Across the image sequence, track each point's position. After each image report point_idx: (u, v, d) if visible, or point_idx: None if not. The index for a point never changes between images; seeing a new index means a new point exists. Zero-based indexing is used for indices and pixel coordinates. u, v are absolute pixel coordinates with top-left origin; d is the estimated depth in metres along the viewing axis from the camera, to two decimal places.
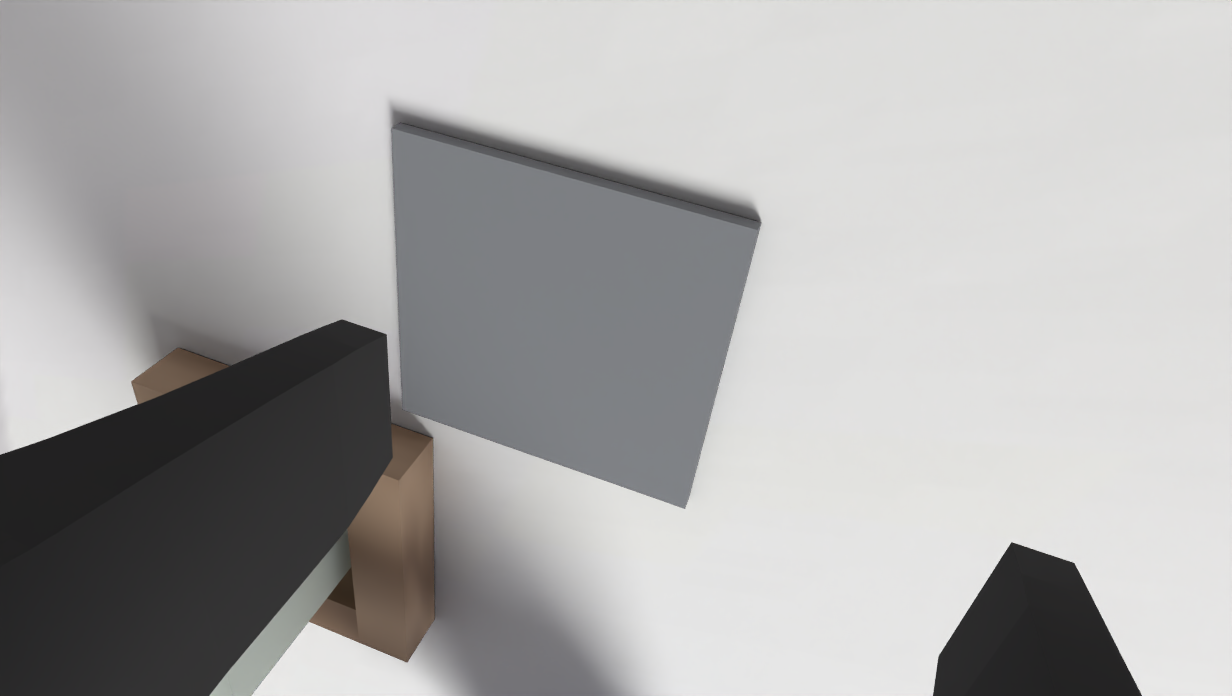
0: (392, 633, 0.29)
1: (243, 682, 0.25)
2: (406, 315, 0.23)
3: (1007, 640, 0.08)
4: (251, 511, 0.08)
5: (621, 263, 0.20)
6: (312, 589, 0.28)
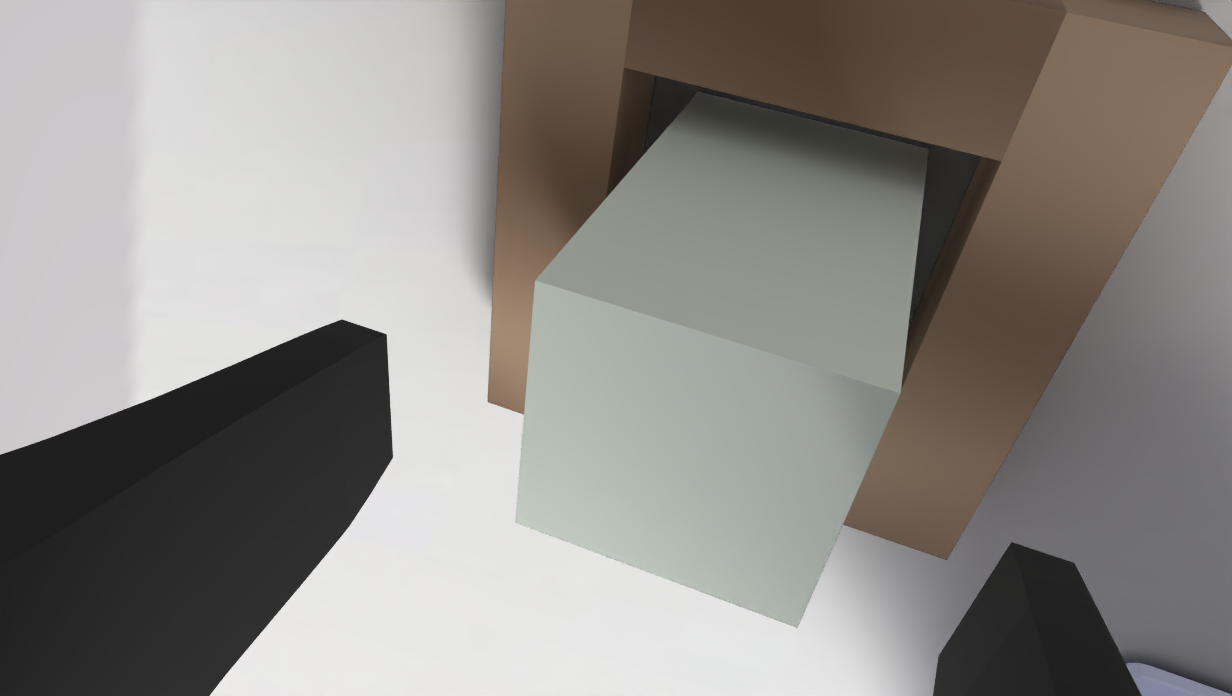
0: (945, 497, 0.15)
1: None
2: None
3: (1007, 640, 0.08)
4: (252, 511, 0.08)
5: None
6: None
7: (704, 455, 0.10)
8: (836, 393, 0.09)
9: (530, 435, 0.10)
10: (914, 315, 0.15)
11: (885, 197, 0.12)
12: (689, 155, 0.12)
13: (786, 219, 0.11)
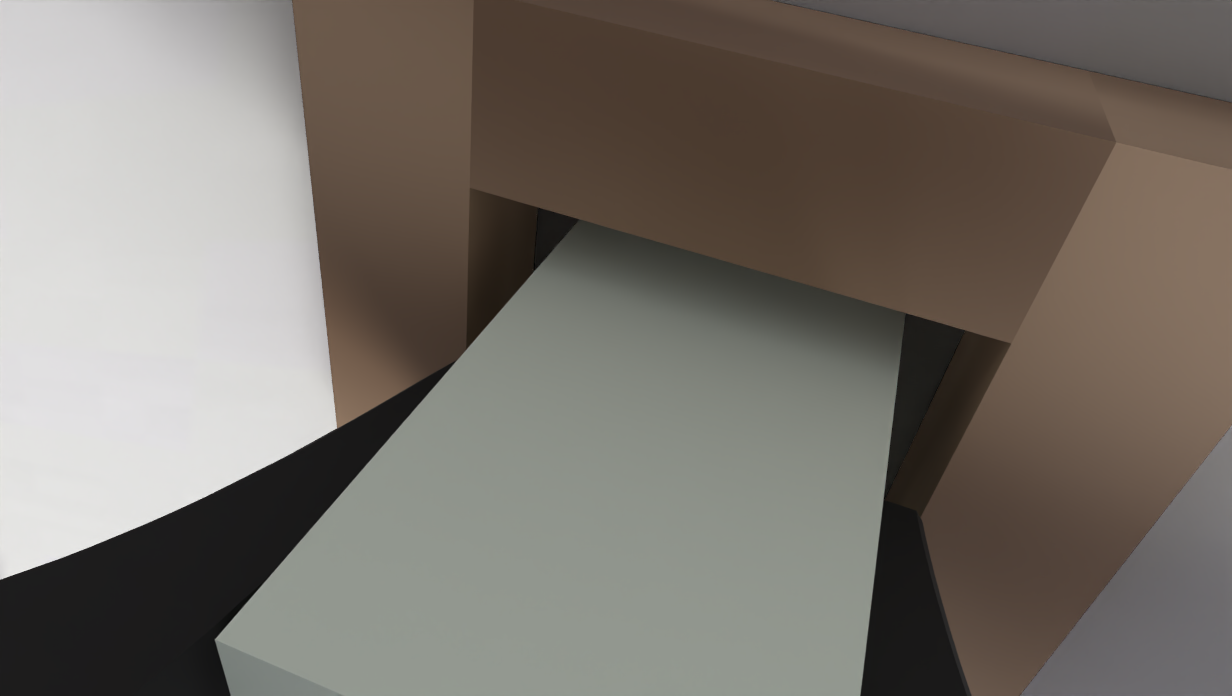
0: None
1: None
2: None
3: None
4: None
5: None
6: None
7: None
8: None
9: None
10: (892, 487, 0.12)
11: (841, 387, 0.08)
12: (557, 322, 0.08)
13: (683, 449, 0.07)
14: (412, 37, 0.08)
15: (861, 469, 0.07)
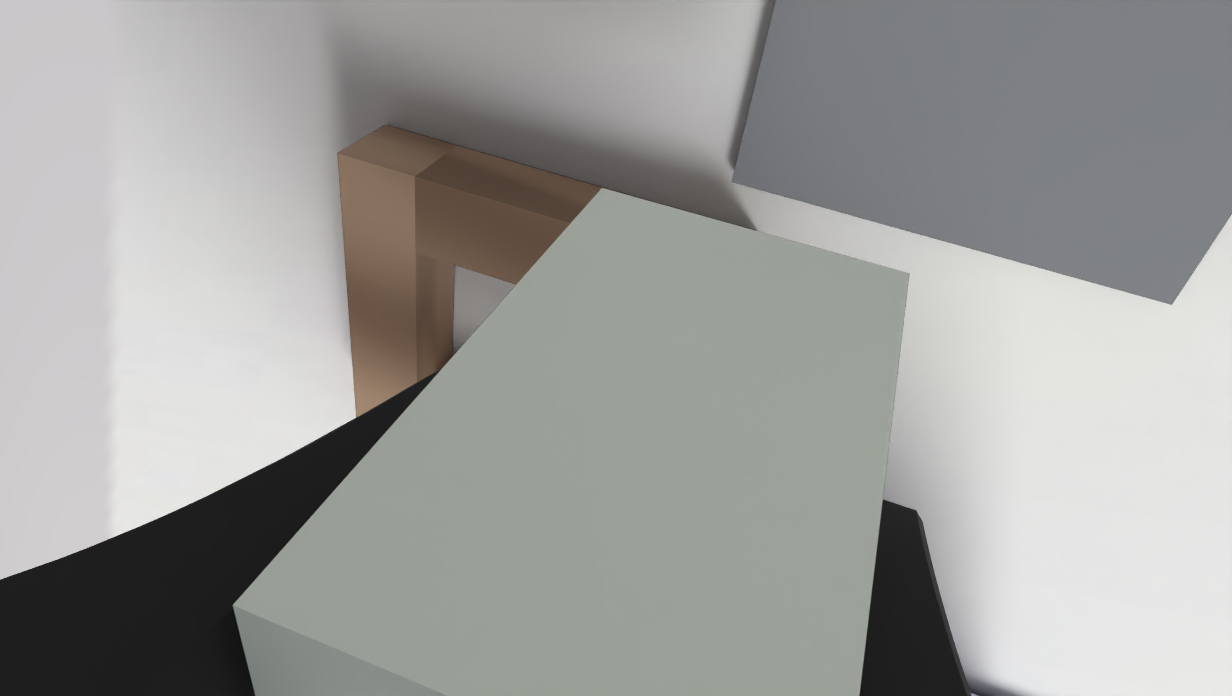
0: None
1: None
2: (786, 12, 0.16)
3: None
4: None
5: None
6: None
7: None
8: None
9: None
10: None
11: (844, 369, 0.08)
12: (563, 306, 0.09)
13: (688, 428, 0.07)
14: (389, 191, 0.19)
15: (863, 447, 0.07)
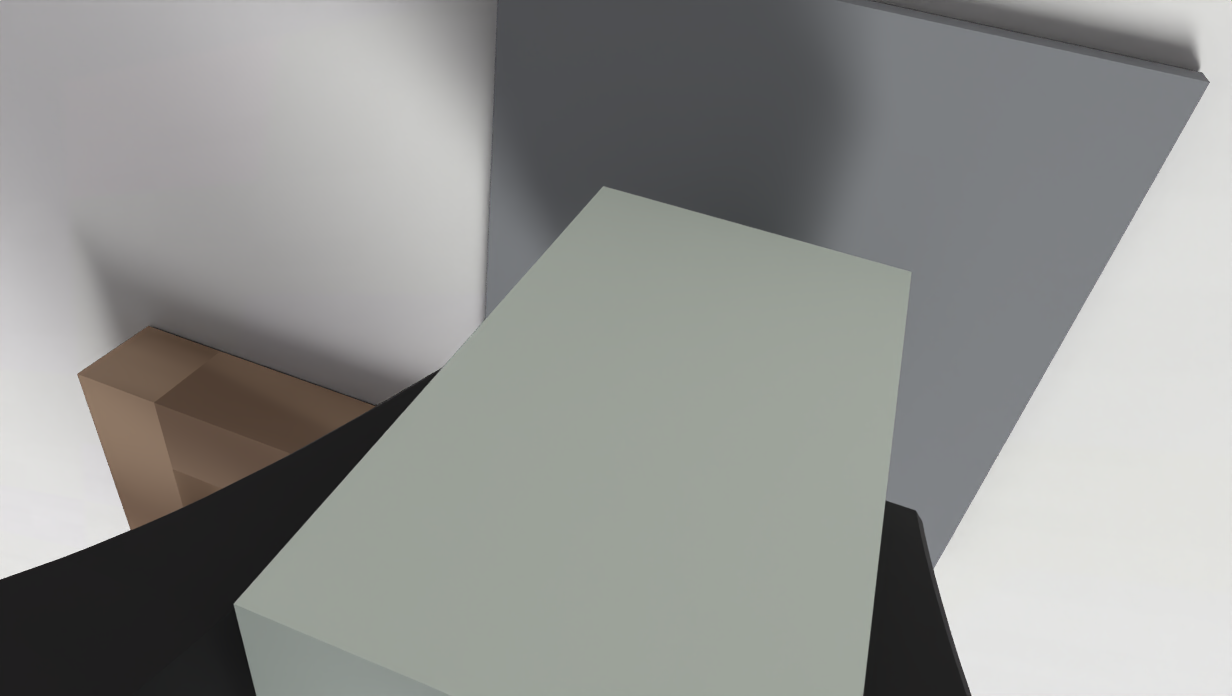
0: None
1: None
2: (500, 267, 0.14)
3: None
4: None
5: (904, 161, 0.11)
6: None
7: None
8: None
9: None
10: None
11: (847, 368, 0.08)
12: (565, 304, 0.09)
13: (692, 426, 0.07)
14: (134, 413, 0.18)
15: (866, 446, 0.07)
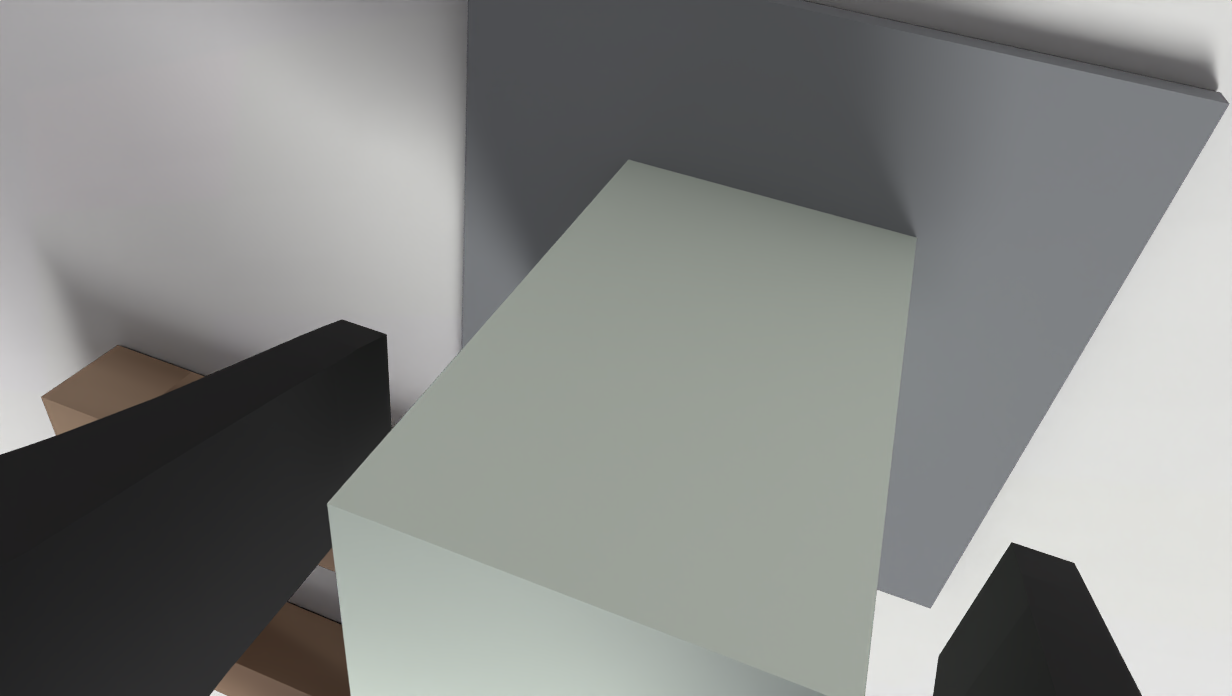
0: None
1: None
2: (476, 290, 0.14)
3: (1007, 640, 0.08)
4: (251, 511, 0.08)
5: (899, 184, 0.10)
6: None
7: None
8: None
9: (357, 679, 0.07)
10: None
11: (857, 319, 0.09)
12: (599, 261, 0.09)
13: (718, 366, 0.08)
14: None
15: (877, 385, 0.08)
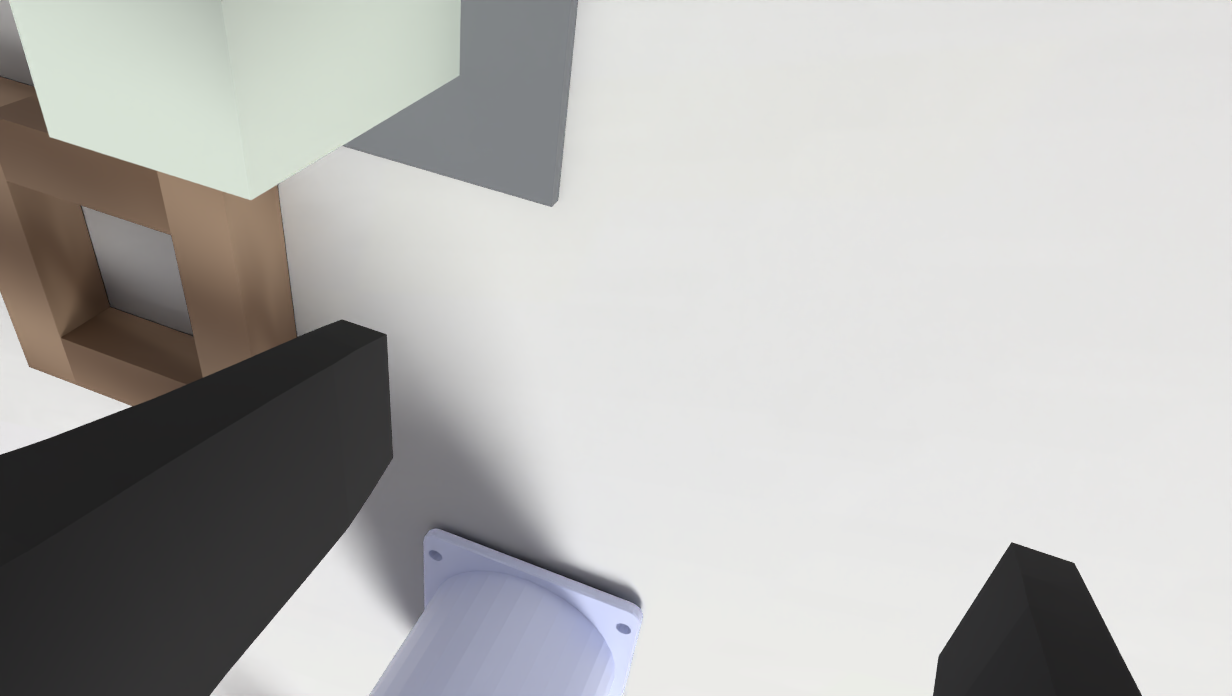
0: None
1: (261, 133, 0.13)
2: None
3: (1007, 640, 0.08)
4: (251, 512, 0.08)
5: None
6: (381, 56, 0.16)
7: (129, 25, 0.12)
8: None
9: (23, 35, 0.13)
10: None
11: None
12: None
13: None
14: None
15: None
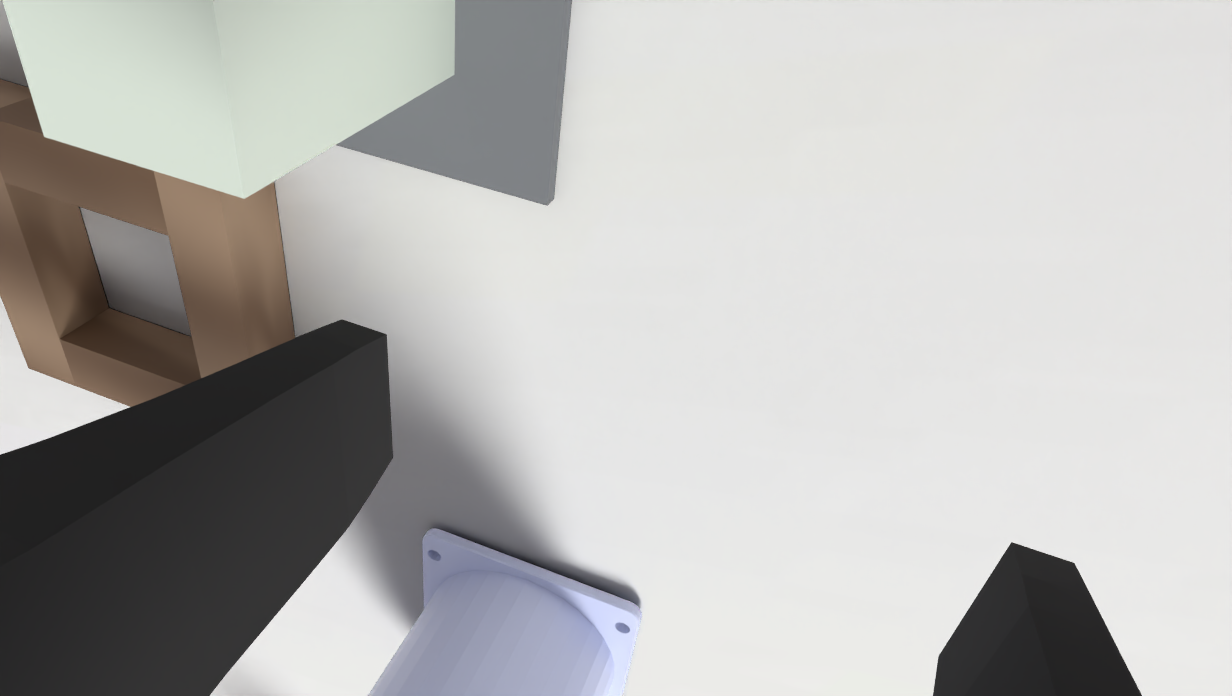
0: None
1: (254, 131, 0.13)
2: None
3: (1007, 640, 0.08)
4: (251, 511, 0.08)
5: None
6: (375, 55, 0.16)
7: (121, 25, 0.12)
8: None
9: (17, 35, 0.13)
10: None
11: None
12: None
13: None
14: None
15: None
